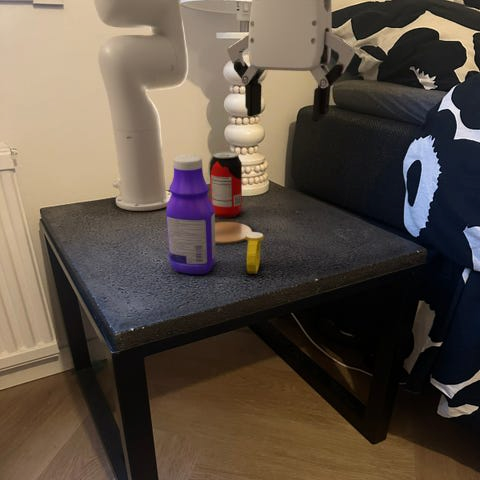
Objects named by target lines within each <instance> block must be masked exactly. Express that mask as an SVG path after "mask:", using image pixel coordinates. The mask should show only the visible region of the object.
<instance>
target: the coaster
mask: <svg viewBox="0 0 480 480" xmlns="http://www.w3.org/2000/svg"><path fill="white" fill-rule="evenodd" d="M249 232H253V231H252V228H251V227H250V226H248V225H246V224H244V223H240V222H235V221H234V222H233V221H218V222H215V244H220V245H221V244H223V245H225V244H227V245H228V244H237V243H240V242H241V243H242V242H243V241H247V240H246V239H245V234H246V233H249Z"/></svg>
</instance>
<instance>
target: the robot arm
mask: <svg viewBox="0 0 480 480" xmlns="http://www.w3.org/2000/svg"><path fill="white" fill-rule="evenodd" d="M93 2H94V6H95V10H96V13H97V15H98V18H99V19H100V21H101V22H102V23H103V24H105V25H106V26H109V27H112V28H120V29H121V28H123V29H130V28H131V29H136V28H137V29H138V28H141V29H142V28H149V31H150V34H122V35H115V36H112V37H109V38H107V39H106V40H105V41H103V42H102V44H101V45H100V47H99V50H98V54H97V62H98V67H99V71H100V74H101V78H102V81H103V84H104V87H105V91H106V95H107V99H108V105H109V110H110V117H111V122H112V124H111V125H112V130H113V137H114V145H115V151H116V159H117V166H118V174H119V176H118V177H117V180H116V181H113V183H112V187H113V188H116V189H118V190H119V194H118V195H117V196H116V197H115V204H116V206H117V207H119V208H120V209H122V210H125V211H131V212H133V211H134V212H148V211H156V210H160V209H164V208H167V204H168V202H169V199H170V197H171V194H172V193H171V192H170V191H168V190H167V187H166V174H165V173H166V172H165V161H164V151H163V140H162V127H161V119H160V114H159V111H158V108H157V107H156V105H155V103H154V102H153V101H152V100H151V98H150V97H149V95H148V93H147V92H152V91H160V90H169V89H170V90H171V89H175V88H179V87H181V86H182V85H183V84H184V83H185V82H186V79H187V77H188V73H189V56H188V48H187V47H188V46H187V40H186V33H185V27H184V20H183V13H182V6H181V1H180V0H93ZM332 10H333V9H332V0H251V5H250V13H249V23H248V25H249V26H248V33H247V34H245V35H244V36H243V37H241V38H240V39H239V40H237V41H236V42H234V43H232V44H231V45H230V46H229V47H228V48H227V54H228V56H229V58H230V61H231V63H232V65H233V71H234V72H235V74H237V75H238V77H239V78H240V79H241V83H242V84H243V85H244V99H245V100H244V104H245V105H244V106H245V109H246V116H247V117H249V118H250V117H255V116H258V115H260V114H261V113H262V83H261V82H259V79H260V78H261V77H262V76H263V74H264V72H265V71H286V72H287V71H292V72H310V73H311V75H312V77H313V78H314V80H315V81H316V83H317V87H316V88H314V89H313V105H312V121H313V122H317V123H318V122H321V121H323V120H325V119H326V115H328V113H329V112H330V111H329V110H330V99H331V87H333V86H334V85H335V84H336V82H337V81H338V80H339V79H340V78H341V77H342V76H343V75H344V74H345V72H346V71H347V67H348V66H349V65H350V63H351V62H352V60H353V57H354V55H355V53H356V49H355V48H354V47H353V46H352V45H351V44H349V43H347V42H345V40H343V39H341V38H340V37H338V36H337V35H335V34H334V33H332V31H333V30H332V28H333V27H332V24H333V23H332V21H333V20H332V19H333V18H332V14H333V13H332ZM246 50H248V51H247V52H248V62H249V65H248V64H247V62H246V61H244V56H243V53H244V52H245V51H246ZM332 50H333V52H335V53H337V54H338V59H337V62H336V63H335V65H334V66H332V68H331V69H329V68H328V65H329V63H330V61H331V54H332Z"/></svg>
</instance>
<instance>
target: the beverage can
mask: <svg viewBox="0 0 480 480" xmlns="http://www.w3.org/2000/svg"><path fill="white" fill-rule="evenodd" d="M211 155H212V157H211V159H210V161H209V186H210V188H209V190H210V201H211V202H212V205H213V207H214V213H215V217H219V218H224V219H225V218H228V219H229V218H234V217H237V216H238V214H240V213H241V212H242V210H243V205H242V204H243V163H242V161H241V159H240V157H239V155H240V154H239V153H238V152H237V151H231V150H222V151H215V152H213V153H212V154H211Z"/></svg>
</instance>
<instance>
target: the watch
mask: <svg viewBox="0 0 480 480" xmlns="http://www.w3.org/2000/svg"><path fill="white" fill-rule="evenodd" d="M245 239H246V240H245V241H247V247H246V248H247V250H246V271H247V273H248V274H255V275H256V274H258V271H259V267H260V261H261V249H262V247H261V242H262V241H263V240H264V234H263V233H261V232H258V231H252V232H249V233H246V234H245Z"/></svg>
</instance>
